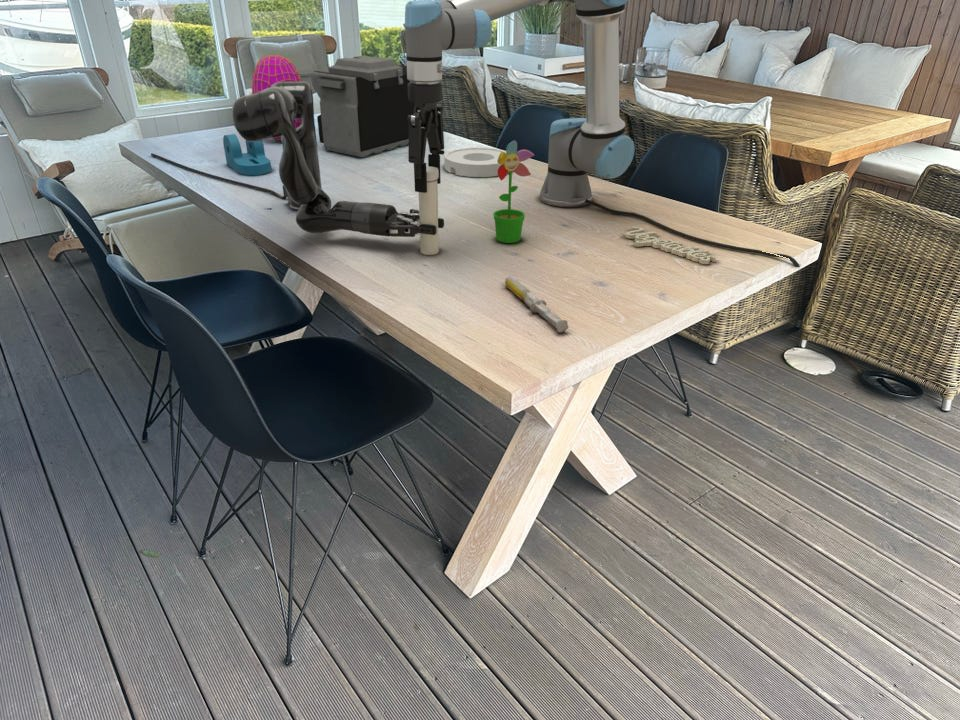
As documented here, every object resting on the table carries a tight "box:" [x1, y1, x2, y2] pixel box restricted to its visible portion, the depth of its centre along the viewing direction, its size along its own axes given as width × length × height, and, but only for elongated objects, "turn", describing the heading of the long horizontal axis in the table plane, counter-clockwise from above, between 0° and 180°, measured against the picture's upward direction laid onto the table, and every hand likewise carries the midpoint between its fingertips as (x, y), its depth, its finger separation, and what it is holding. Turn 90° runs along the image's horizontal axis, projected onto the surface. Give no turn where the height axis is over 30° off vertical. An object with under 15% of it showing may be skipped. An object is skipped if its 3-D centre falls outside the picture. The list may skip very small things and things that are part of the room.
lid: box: [426, 165, 439, 181], centre depth 157 cm, size 5×5×2 cm
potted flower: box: [493, 139, 535, 244], centre depth 168 cm, size 9×8×25 cm
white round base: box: [443, 146, 509, 178], centre depth 232 cm, size 23×23×4 cm
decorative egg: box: [251, 54, 303, 142], centre depth 257 cm, size 19×19×30 cm
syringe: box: [504, 275, 569, 334], centre depth 140 cm, size 25×4×3 cm, turn 21°
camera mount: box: [222, 133, 272, 176], centre depth 226 cm, size 18×10×10 cm, turn 35°
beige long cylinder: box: [418, 179, 440, 256], centre depth 162 cm, size 4×4×19 cm
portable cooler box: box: [310, 55, 415, 159], centre depth 250 cm, size 37×22×30 cm, turn 144°
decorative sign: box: [624, 226, 717, 265], centre depth 170 cm, size 26×1×10 cm
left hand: (439, 226), depth 163 cm, fingers closed on beige long cylinder, 4 cm apart
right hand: (427, 187), depth 159 cm, fingers open, 7 cm apart
